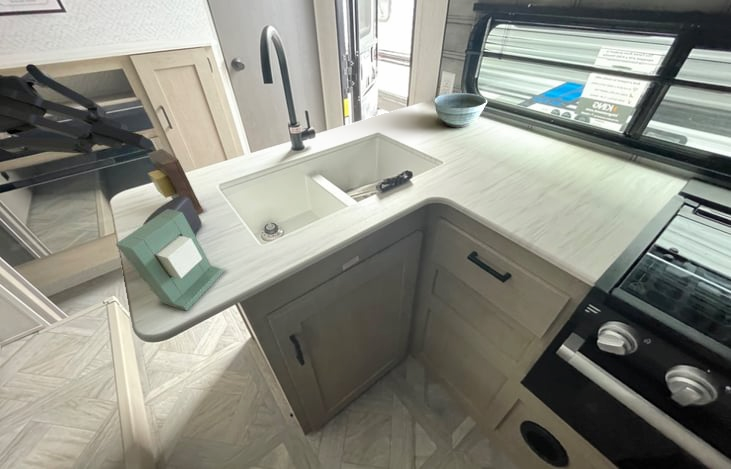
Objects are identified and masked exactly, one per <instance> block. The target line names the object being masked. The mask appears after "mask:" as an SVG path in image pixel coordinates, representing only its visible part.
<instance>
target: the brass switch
mask: <svg viewBox="0 0 731 469" xmlns="http://www.w3.org/2000/svg"><path fill="white" fill-rule="evenodd" d="M147 175H148V177H149V179H150V180H151V182H152V183H153V185H154V187H155V189H156V190H157V192H158V193H159V194H160V195H162V196H163V197H164V198H165V199H167V198H171V196H172V195H174V194H176V193H175V191H174V189H173V187H172V185H171V183H170V181H169V180H168V178H167V176H166V174H164V173H163V172H162V171H160V170H159V169H158V170H156V169H155V170H153V171H149V172H148V173H147Z"/></svg>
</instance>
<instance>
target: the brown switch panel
mask: <svg viewBox="0 0 731 469" xmlns="http://www.w3.org/2000/svg"><path fill="white" fill-rule="evenodd" d="M147 156H148V158H149V159H150V161H151V163H152V165H153V166H154V169H155V170H158V169H159V170H160V171H162V172H163V173H164V174H166V176H167V178H168V180H169V181H170V183H171V185H172V187H173V189H174V191H175V193H176V194H174V195H172V196H170V198H171V200H173V199H175V198H177V197H180V196H187V197H189V198H190V200H191V202H192V204H193V206H194V208H195V210H196V212H197V214H198V215H200V214H202V213H203V212H204V210H203V207H202V205H201V204H200V203H201V202H199V199H198V197H197V194H196V193H195V191H194V189H193V187H192V185H191V183H190V181H189V179H188V176H187V175H186V173H185V171H184V169H183V166H182V165H181V164H182V163H181V162H180V160H179V159H178V158H177V157H175V156H174V155H172V154H171V153H169V152H168V151H166V150H165V149H163V148H159V149H157V150H154V151H149V152H147Z"/></svg>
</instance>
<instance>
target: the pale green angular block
mask: <svg viewBox="0 0 731 469" xmlns="http://www.w3.org/2000/svg"><path fill="white" fill-rule="evenodd" d="M143 224H144V223H143ZM143 224H142V225H141V226H140V227H138V228H137V229H136V230H133V232H131V233H130V234H128V235H126V236H125V237H124V238H122V239H121V240H119V241H118V242H116V243H115V246H116V247H117V248H118V249H119V251H120V252H121V254H122V255H123V256H124V258H126V259H127V261H128V262H129V264H130V265H131V266H132V267H133V269H135V271H136V272H137V273H138V275H139V276H140V277H141V278H142V280H143V281H144V282H145V283H146V285H147V286H148V287H149V288H150V290H151V291H152V292H153V293H154V295H155V296H156V297H157V298H158V299H159V300H160V302H161V303H162V304H165V305H168V306H170V307H174V308H177V309H179V310H182V311H186V312H188V311H189V309H190V308H191V307H192V306H193V305H194V304H196V302H197V301H198V300H199V299H200V298H201V296H203V294H205V292H206V291H207V290H209V288H210V287H211V286H212V285H213V284H214V283H215V282H216V281H217V280H218V279H219V278H220V276H222V275H223V273H224V271H223V270H222V268H219V267H216V266H213V265H212V264H211V262H210V261H209V259H208V257H207V255H206V253H205V251H204V250H203V248H202V246H201V244H200V242H199V240H198V239H197V236H196V234H195V235H194V233H193V231H192V229H191V227H190V226H189V224H188V222H187V220H186V218H185V216H184V215H183V213H182V212H179V211H175V210H170V209H166V210H165V211H164V212H162V213H161V214H159V215H158V216H156V217H155V218H153V219H152V220H150V221H149V222H147V223H146V224H144V225H143ZM178 235H179V236H183V237H187V238H191V239H192V241H193V243H194V245H195V246H196V248H197V250H198V252H199V254H200V255H201V257H202V260H201V261H199V262H198V263H197V264H196V265H195V266H194V267H193V268H192V269H191V270H190V271H189V272H188V273H187V274H186V275H184V276H183V277H182V278H178V277H174V276H171V275H168V273H167V272H166V271H165V269H164V268H163V266H162V265H161V263H160V262H159V261H158V259H157V258H156V256H155V255H154V254H156V253H157V252H158V251H159V250H161V249H162V248H163V247H164V246H166V245H167V244H168V243H170V242H171V241H172V240H173V239H175V238H176V237H177V236H178Z"/></svg>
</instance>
